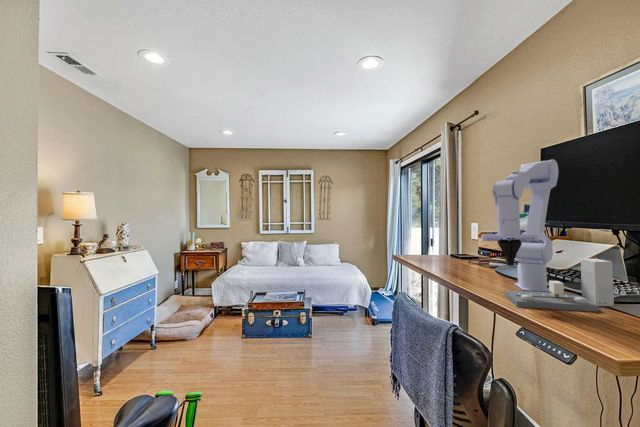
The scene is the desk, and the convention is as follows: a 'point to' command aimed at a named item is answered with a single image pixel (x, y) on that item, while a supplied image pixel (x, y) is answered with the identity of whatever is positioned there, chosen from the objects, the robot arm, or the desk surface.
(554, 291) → the fader tab
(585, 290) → the skincare box
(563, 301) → the console
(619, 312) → the desk surface
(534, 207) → the robot arm
